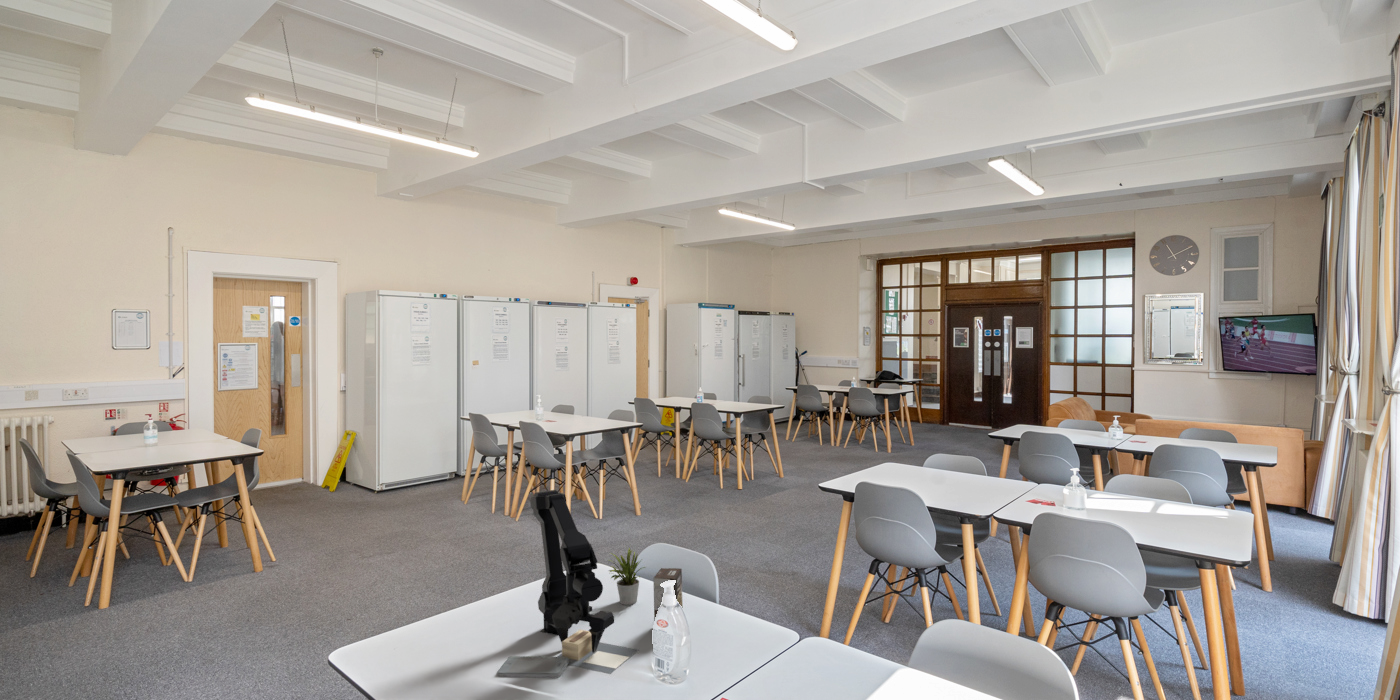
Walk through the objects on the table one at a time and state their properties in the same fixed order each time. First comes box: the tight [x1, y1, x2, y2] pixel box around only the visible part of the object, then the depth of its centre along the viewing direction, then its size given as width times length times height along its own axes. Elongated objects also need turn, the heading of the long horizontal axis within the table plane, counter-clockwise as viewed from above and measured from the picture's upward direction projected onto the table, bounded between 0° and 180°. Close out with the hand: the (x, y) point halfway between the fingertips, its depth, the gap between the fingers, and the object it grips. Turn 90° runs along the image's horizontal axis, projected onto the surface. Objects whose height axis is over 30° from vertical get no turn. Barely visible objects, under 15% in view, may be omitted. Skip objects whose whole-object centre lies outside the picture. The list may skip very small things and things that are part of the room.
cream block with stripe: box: [561, 629, 592, 660], centre depth 176 cm, size 8×5×4 cm, turn 155°
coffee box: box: [653, 567, 684, 621], centre depth 190 cm, size 9×6×16 cm
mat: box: [556, 642, 640, 675], centre depth 174 cm, size 18×14×1 cm
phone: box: [496, 655, 569, 679], centre depth 168 cm, size 8×16×1 cm, turn 83°
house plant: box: [608, 547, 647, 606], centre depth 213 cm, size 14×14×16 cm
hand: (579, 649), depth 176 cm, fingers open, 9 cm apart
